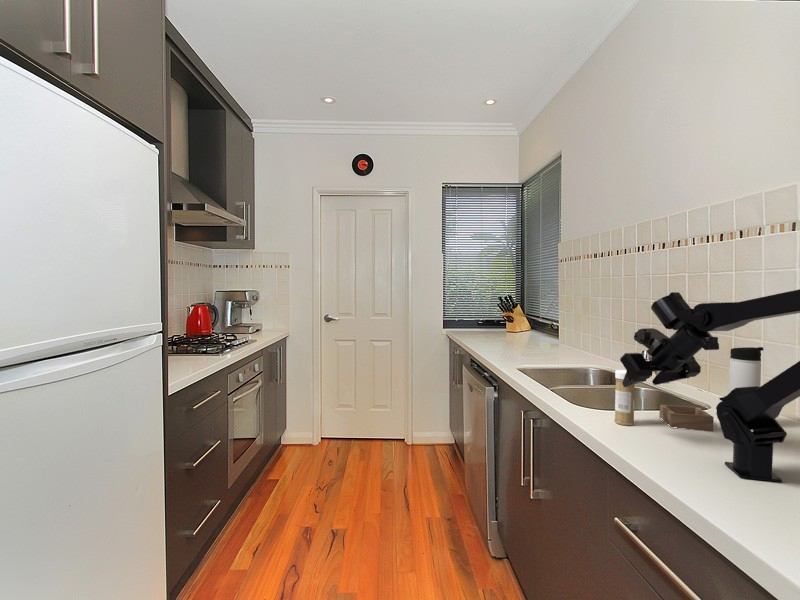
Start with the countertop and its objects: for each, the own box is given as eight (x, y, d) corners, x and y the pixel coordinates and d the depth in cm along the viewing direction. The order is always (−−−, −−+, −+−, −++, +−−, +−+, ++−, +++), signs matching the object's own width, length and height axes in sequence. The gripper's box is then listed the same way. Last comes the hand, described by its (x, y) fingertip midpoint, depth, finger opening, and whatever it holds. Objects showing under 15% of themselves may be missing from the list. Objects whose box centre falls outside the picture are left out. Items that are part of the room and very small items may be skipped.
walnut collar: (713, 431, 104) (713, 417, 104) (671, 427, 107) (671, 413, 107) (697, 420, 113) (698, 407, 113) (659, 417, 115) (659, 404, 115)
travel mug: (757, 429, 106) (760, 348, 106) (725, 422, 111) (727, 345, 111) (762, 424, 110) (765, 346, 110) (730, 418, 115) (733, 343, 115)
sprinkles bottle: (637, 424, 109) (639, 371, 109) (627, 427, 107) (629, 373, 106) (620, 419, 113) (621, 368, 113) (610, 422, 111) (611, 370, 110)
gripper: (690, 317, 102) (649, 356, 113) (628, 318, 97) (591, 358, 108) (723, 355, 95) (675, 393, 106) (657, 359, 90) (614, 398, 101)
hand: (638, 384), depth 105 cm, fingers open, 9 cm apart
